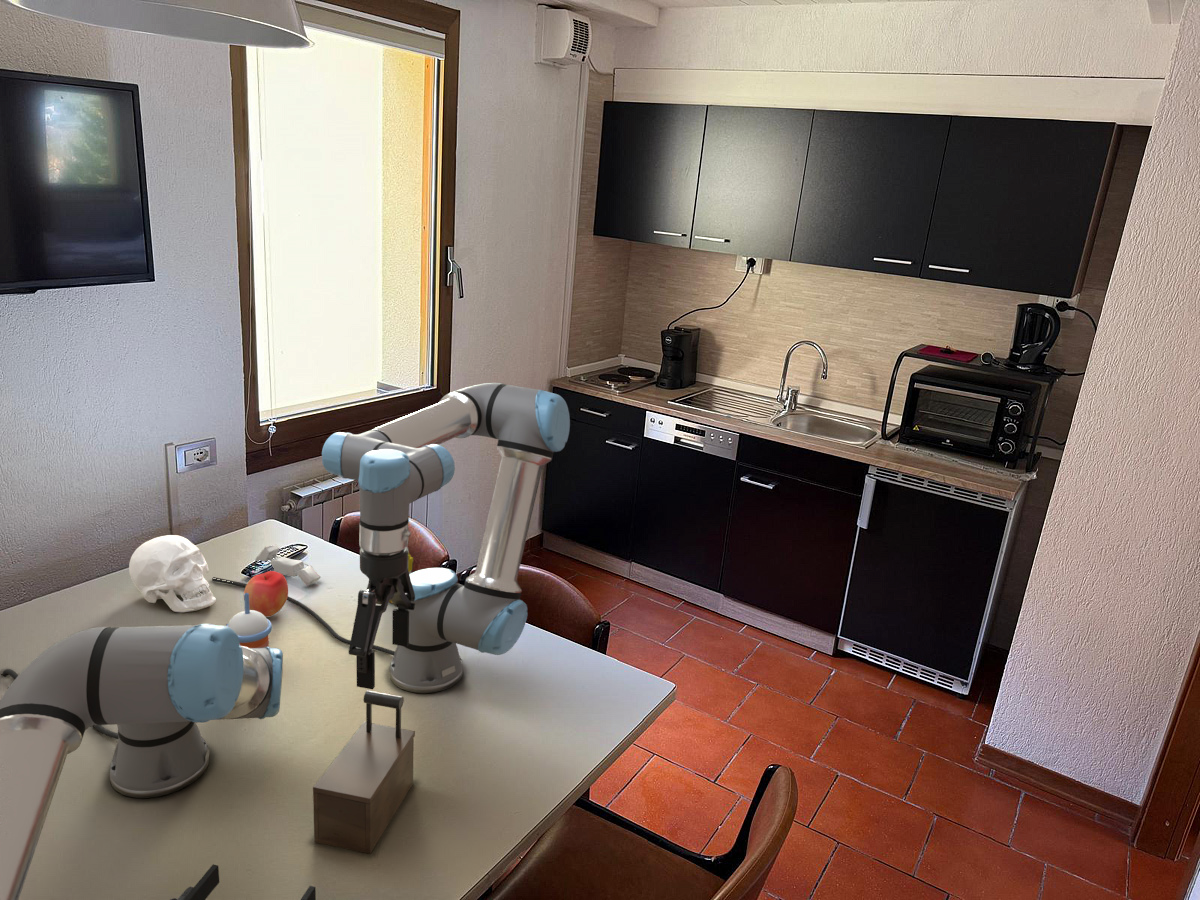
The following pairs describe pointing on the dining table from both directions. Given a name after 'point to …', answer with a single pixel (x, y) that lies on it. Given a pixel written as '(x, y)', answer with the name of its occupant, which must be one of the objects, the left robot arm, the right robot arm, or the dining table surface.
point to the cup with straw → (251, 627)
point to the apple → (267, 593)
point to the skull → (171, 573)
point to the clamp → (288, 565)
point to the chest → (362, 811)
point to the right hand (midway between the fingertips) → (383, 665)
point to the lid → (367, 754)
